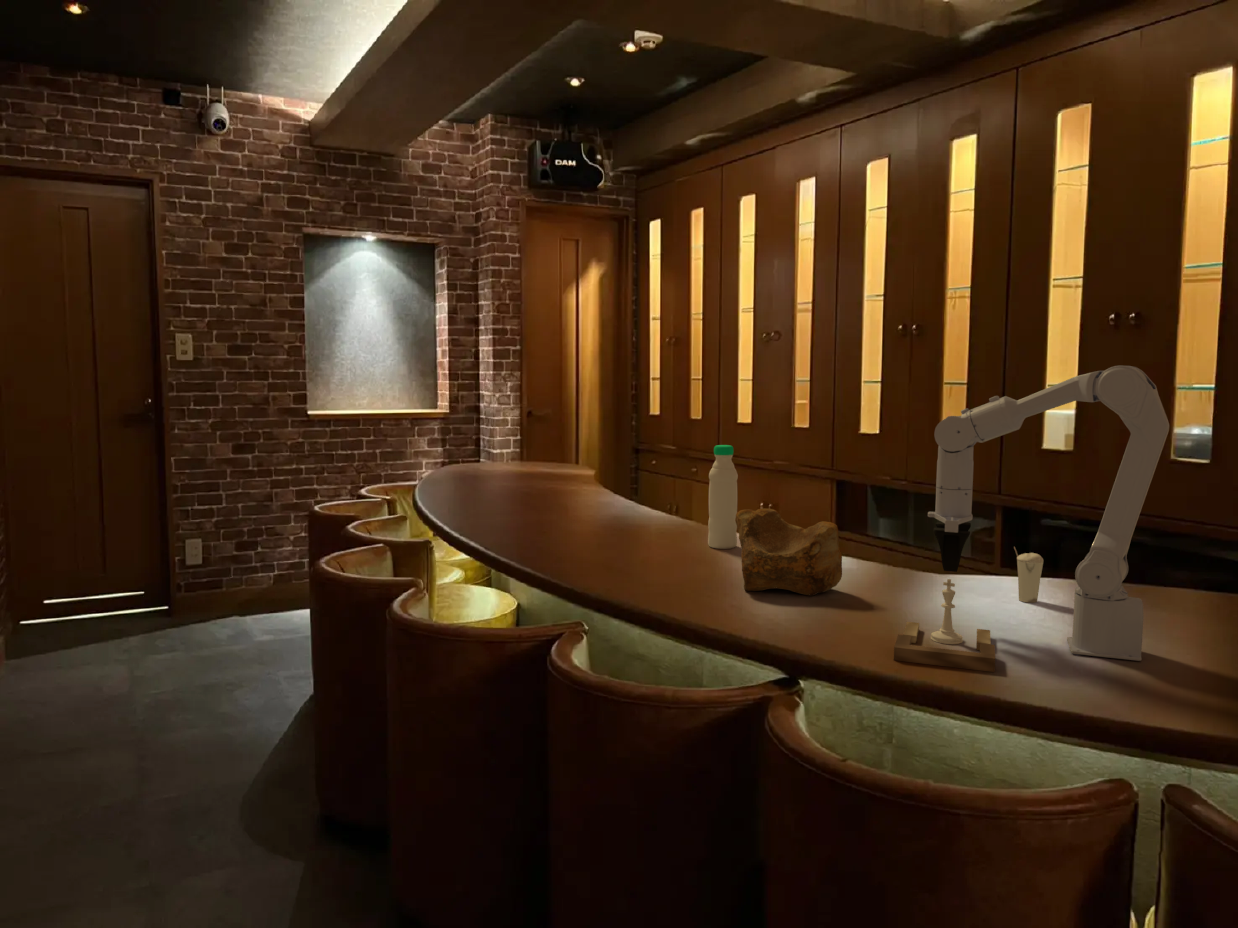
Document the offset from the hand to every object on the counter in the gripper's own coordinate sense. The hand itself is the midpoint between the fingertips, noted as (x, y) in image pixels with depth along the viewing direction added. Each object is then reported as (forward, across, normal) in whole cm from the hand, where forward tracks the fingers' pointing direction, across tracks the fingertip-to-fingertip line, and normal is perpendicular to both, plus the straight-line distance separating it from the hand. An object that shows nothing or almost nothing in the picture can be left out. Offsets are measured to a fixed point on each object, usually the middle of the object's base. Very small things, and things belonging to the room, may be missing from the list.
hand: (950, 567), depth 151 cm
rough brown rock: (+10, -15, -33) cm, 38 cm away
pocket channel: (+10, +8, 0) cm, 13 cm away
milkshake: (+10, -24, +13) cm, 29 cm away
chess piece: (+10, +8, 0) cm, 13 cm away
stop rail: (+10, +19, 0) cm, 21 cm away
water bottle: (+10, -52, -54) cm, 76 cm away
